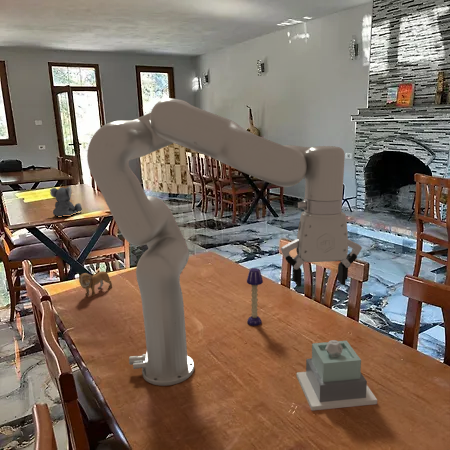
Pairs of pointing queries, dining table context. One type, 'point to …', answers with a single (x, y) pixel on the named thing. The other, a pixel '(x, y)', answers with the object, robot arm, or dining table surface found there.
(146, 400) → the dining table surface
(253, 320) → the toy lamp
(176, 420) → the dining table surface
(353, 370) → the stepped pedestal
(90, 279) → the lion figurine
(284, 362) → the dining table surface
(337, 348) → the game die
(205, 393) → the dining table surface
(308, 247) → the robot arm
